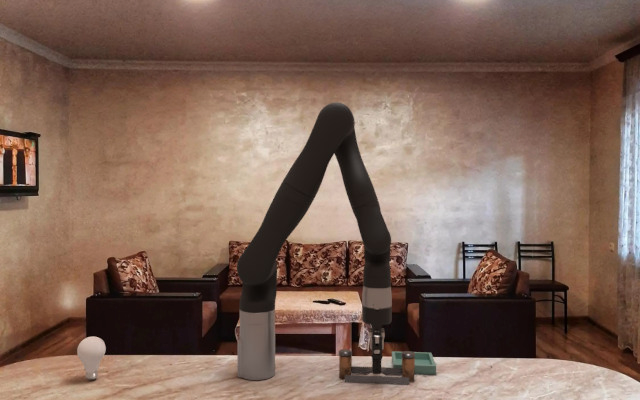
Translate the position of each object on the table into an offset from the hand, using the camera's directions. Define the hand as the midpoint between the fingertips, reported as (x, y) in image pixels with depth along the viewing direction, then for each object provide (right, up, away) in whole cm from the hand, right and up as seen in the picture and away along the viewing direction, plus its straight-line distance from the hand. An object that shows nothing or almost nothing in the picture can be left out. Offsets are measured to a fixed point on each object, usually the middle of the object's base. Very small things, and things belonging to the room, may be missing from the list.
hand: (376, 368), depth 133 cm
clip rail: (0, -3, 0) cm, 3 cm away
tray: (+11, -2, +9) cm, 14 cm away
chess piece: (0, -3, 0) cm, 3 cm away
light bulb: (-72, -3, -1) cm, 72 cm away
